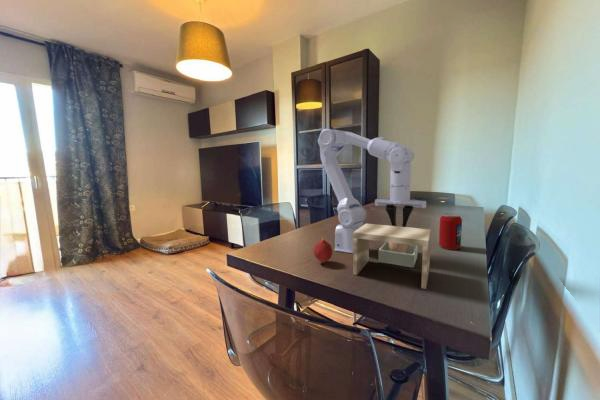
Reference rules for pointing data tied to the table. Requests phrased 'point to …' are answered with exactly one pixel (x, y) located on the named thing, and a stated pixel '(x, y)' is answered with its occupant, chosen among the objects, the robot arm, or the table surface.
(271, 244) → the table surface
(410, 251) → the tray
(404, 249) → the pink-tan solid cylinder
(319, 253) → the onion
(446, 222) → the beverage can
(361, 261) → the shelf
